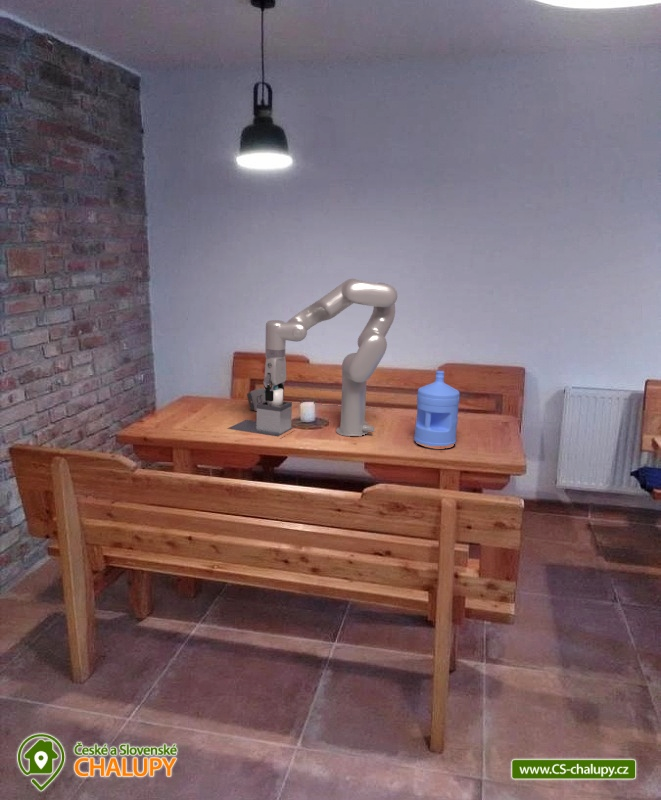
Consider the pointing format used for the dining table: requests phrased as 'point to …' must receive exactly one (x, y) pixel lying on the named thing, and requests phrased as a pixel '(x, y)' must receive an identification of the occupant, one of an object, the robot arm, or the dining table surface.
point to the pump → (276, 397)
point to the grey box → (268, 420)
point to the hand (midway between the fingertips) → (274, 398)
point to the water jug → (437, 413)
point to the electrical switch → (256, 398)
